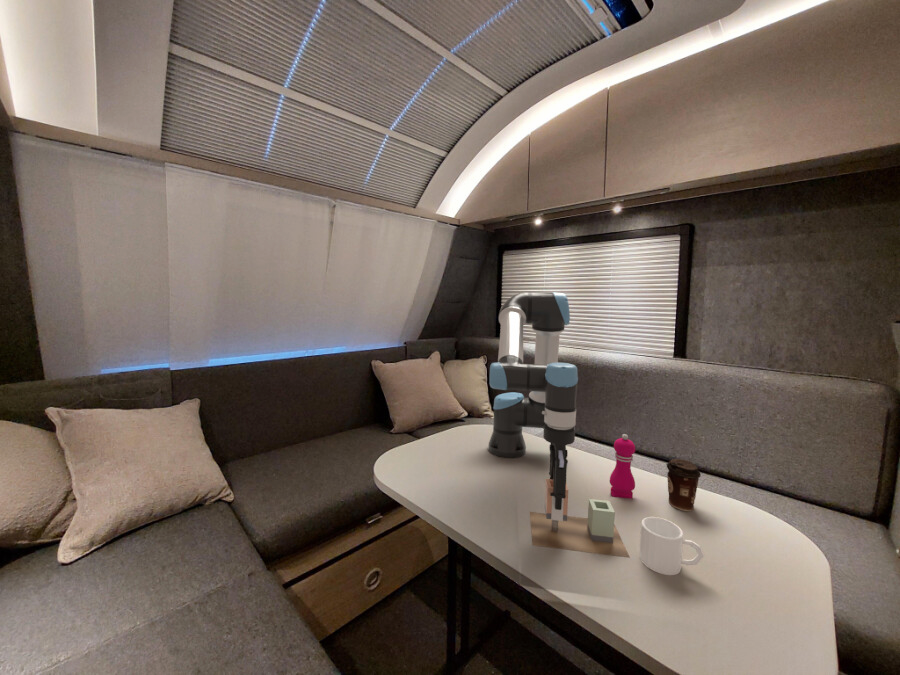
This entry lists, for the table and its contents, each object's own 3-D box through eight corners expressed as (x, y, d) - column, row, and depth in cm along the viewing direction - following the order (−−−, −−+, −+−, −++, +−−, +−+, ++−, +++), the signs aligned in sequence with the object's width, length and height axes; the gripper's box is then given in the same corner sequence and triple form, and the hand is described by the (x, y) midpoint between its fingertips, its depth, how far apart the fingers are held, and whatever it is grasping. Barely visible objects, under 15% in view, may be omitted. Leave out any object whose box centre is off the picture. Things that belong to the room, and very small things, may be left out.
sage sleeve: (587, 528, 92) (588, 498, 91) (607, 530, 91) (609, 500, 91) (591, 540, 87) (593, 509, 86) (613, 543, 86) (614, 512, 86)
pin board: (529, 516, 99) (530, 491, 98) (612, 526, 95) (614, 499, 95) (532, 550, 85) (533, 521, 85) (629, 563, 82) (631, 532, 81)
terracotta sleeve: (544, 507, 94) (545, 478, 93) (564, 509, 93) (565, 480, 92) (546, 518, 89) (547, 488, 88) (567, 521, 88) (568, 490, 87)
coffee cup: (660, 504, 106) (663, 463, 105) (666, 494, 112) (669, 454, 111) (695, 517, 100) (698, 473, 99) (699, 505, 106) (703, 463, 105)
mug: (700, 597, 72) (704, 552, 72) (635, 569, 80) (638, 528, 79) (703, 574, 79) (706, 532, 78) (642, 550, 86) (645, 512, 85)
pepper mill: (637, 503, 107) (641, 439, 105) (611, 500, 108) (615, 437, 106) (630, 491, 114) (634, 431, 112) (606, 488, 115) (609, 429, 113)
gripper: (541, 413, 98) (538, 493, 100) (547, 436, 80) (543, 533, 82) (569, 415, 97) (565, 496, 99) (581, 439, 79) (577, 537, 81)
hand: (555, 512), depth 91 cm, fingers closed on terracotta sleeve, 5 cm apart
